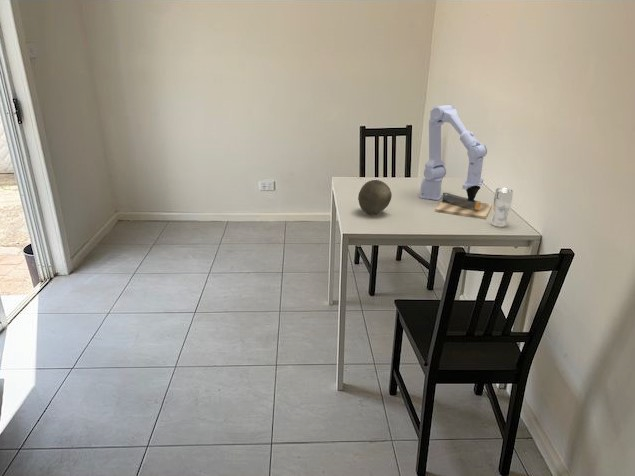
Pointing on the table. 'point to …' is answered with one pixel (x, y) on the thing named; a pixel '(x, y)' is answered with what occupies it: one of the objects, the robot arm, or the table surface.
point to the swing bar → (461, 201)
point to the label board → (463, 209)
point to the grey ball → (374, 196)
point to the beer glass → (502, 206)
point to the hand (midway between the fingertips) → (470, 201)
